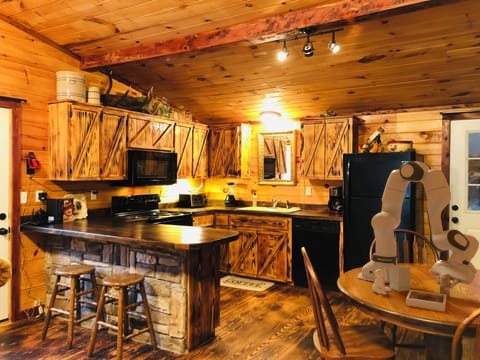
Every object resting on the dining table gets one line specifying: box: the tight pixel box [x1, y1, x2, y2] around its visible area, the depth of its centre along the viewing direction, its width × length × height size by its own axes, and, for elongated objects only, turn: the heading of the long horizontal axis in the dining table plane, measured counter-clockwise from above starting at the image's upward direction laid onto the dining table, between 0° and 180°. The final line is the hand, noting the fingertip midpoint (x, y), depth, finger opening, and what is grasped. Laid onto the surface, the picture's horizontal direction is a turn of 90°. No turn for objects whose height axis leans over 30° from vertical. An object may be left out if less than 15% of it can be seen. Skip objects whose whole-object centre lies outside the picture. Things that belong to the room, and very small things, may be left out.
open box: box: [405, 289, 447, 312], centre depth 180 cm, size 16×16×4 cm
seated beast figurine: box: [371, 269, 392, 295], centre depth 198 cm, size 10×9×12 cm
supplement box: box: [389, 264, 411, 293], centre depth 202 cm, size 7×7×13 cm
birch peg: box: [439, 273, 451, 300], centre depth 189 cm, size 4×4×12 cm
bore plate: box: [411, 292, 443, 303], centre depth 180 cm, size 13×13×2 cm
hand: (444, 285), depth 189 cm, fingers open, 5 cm apart
